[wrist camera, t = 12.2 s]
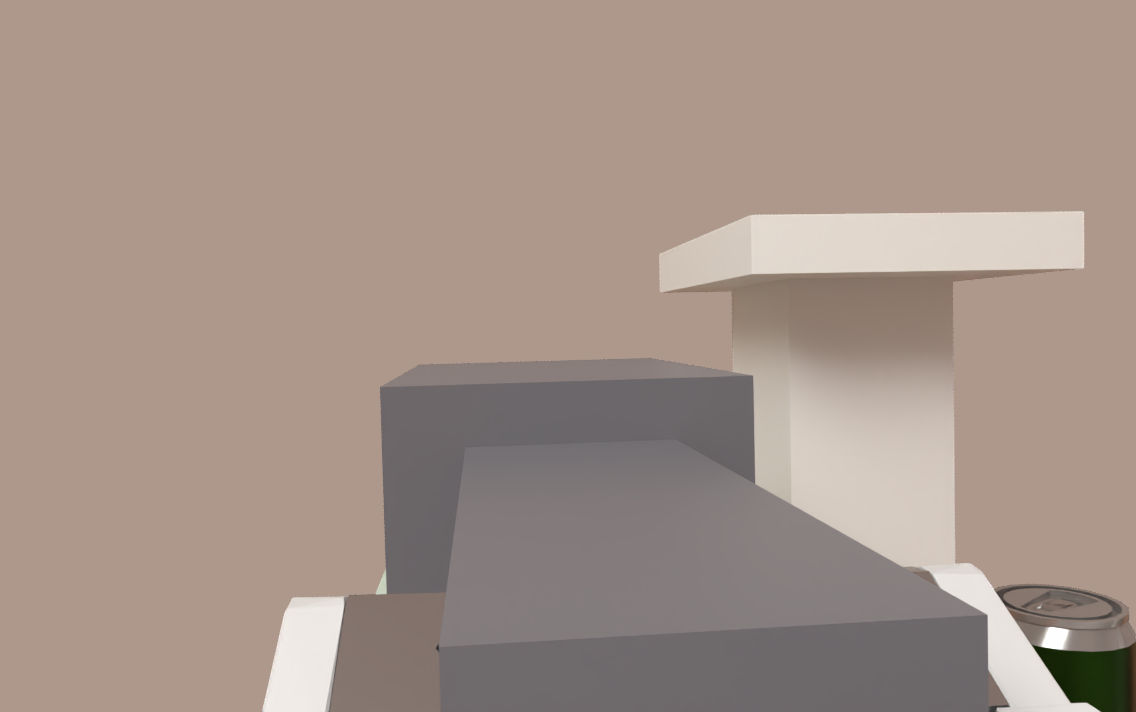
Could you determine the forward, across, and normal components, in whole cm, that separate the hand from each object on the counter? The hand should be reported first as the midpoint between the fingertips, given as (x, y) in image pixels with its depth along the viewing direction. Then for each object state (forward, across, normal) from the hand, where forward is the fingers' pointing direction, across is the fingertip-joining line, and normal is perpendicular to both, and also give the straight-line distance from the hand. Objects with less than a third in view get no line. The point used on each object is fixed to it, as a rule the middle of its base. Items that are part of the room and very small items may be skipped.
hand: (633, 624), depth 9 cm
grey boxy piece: (+5, 0, +5) cm, 7 cm away
